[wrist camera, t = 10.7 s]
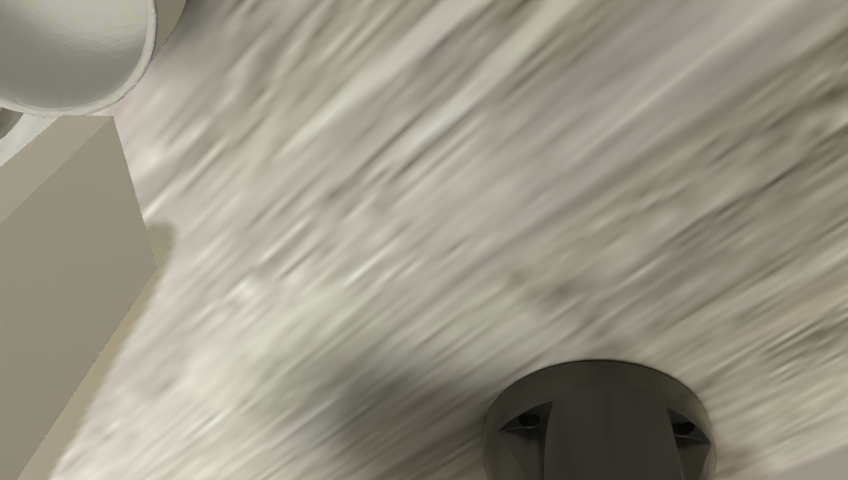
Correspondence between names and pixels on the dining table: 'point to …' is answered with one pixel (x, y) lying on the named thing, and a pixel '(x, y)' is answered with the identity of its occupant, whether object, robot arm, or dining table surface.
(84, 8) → the teacup
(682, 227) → the dining table surface
